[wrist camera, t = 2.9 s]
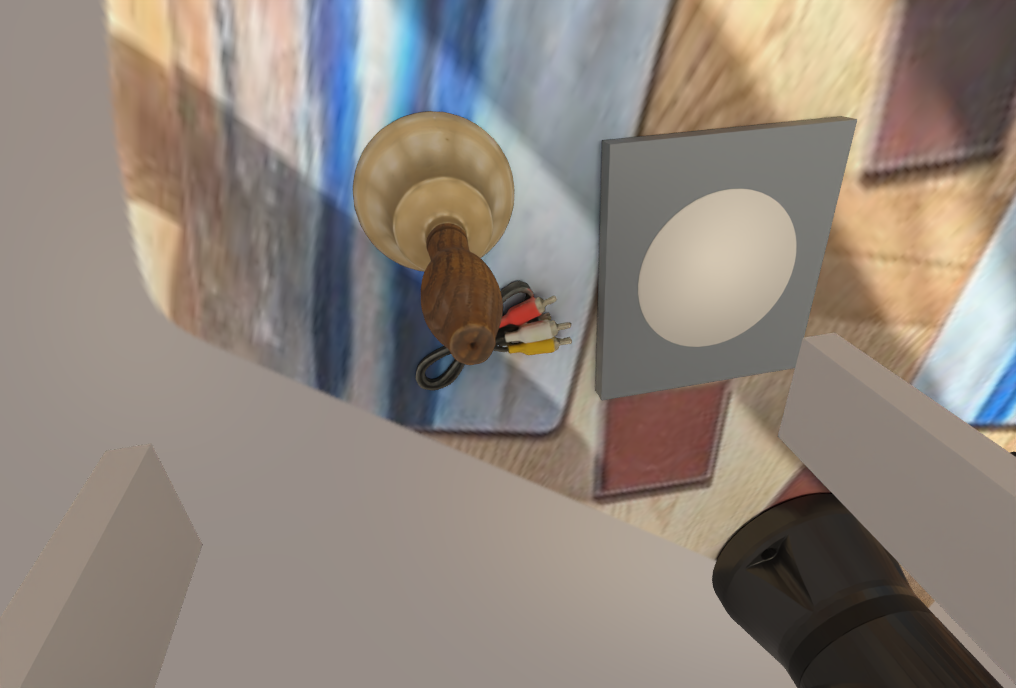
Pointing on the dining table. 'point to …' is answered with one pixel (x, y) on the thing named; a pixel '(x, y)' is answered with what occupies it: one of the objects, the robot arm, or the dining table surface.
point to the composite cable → (507, 335)
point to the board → (712, 250)
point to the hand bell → (440, 220)
